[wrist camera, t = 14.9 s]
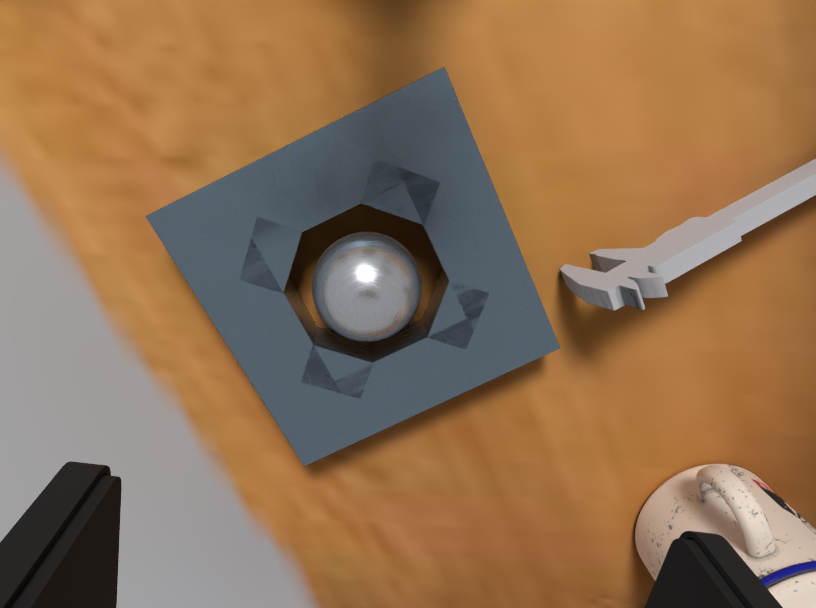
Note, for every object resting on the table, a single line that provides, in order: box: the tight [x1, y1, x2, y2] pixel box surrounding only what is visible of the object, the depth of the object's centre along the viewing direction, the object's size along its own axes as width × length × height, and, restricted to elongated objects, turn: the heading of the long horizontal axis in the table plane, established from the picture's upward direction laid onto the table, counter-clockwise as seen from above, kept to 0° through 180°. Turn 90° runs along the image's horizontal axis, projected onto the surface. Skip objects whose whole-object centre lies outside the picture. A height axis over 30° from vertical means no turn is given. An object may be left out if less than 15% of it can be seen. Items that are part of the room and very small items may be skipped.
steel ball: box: [312, 232, 422, 342], centre depth 26 cm, size 5×5×5 cm
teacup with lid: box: [635, 464, 816, 608], centre depth 30 cm, size 12×9×12 cm
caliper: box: [560, 159, 816, 311], centre depth 26 cm, size 20×1×6 cm, turn 114°
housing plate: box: [146, 67, 560, 466], centre depth 28 cm, size 14×14×2 cm
